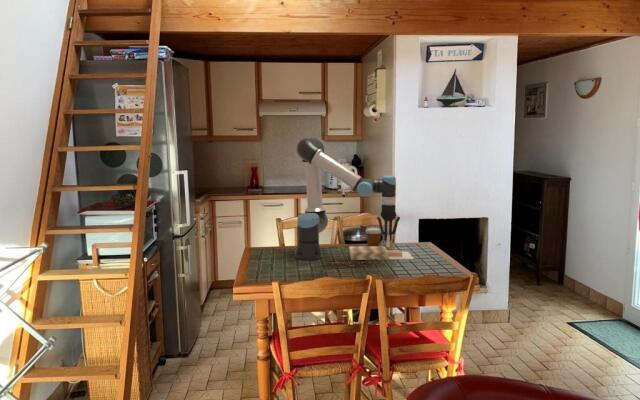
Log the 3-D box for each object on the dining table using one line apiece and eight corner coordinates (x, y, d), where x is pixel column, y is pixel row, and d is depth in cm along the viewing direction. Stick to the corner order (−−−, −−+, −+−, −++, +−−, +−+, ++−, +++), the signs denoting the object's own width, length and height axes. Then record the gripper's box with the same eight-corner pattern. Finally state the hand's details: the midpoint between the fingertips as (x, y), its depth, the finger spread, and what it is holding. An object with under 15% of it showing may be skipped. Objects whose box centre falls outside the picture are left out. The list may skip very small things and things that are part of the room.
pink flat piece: (387, 256, 262) (387, 253, 262) (386, 253, 268) (386, 250, 268) (402, 256, 262) (402, 252, 262) (400, 253, 268) (400, 250, 268)
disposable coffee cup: (378, 251, 275) (378, 231, 274) (363, 249, 279) (363, 229, 278) (383, 248, 284) (384, 228, 282) (368, 246, 288) (368, 226, 286)
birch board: (351, 259, 258) (351, 252, 257) (349, 253, 271) (349, 246, 271) (388, 259, 258) (388, 252, 257) (384, 253, 272) (384, 246, 271)
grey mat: (389, 259, 257) (389, 258, 257) (385, 252, 272) (385, 251, 272) (413, 259, 258) (413, 258, 258) (408, 252, 273) (408, 251, 272)
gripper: (377, 205, 257) (377, 248, 260) (401, 205, 257) (400, 248, 260) (375, 203, 264) (375, 245, 268) (399, 203, 265) (398, 244, 268)
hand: (387, 246), depth 264 cm, fingers closed
